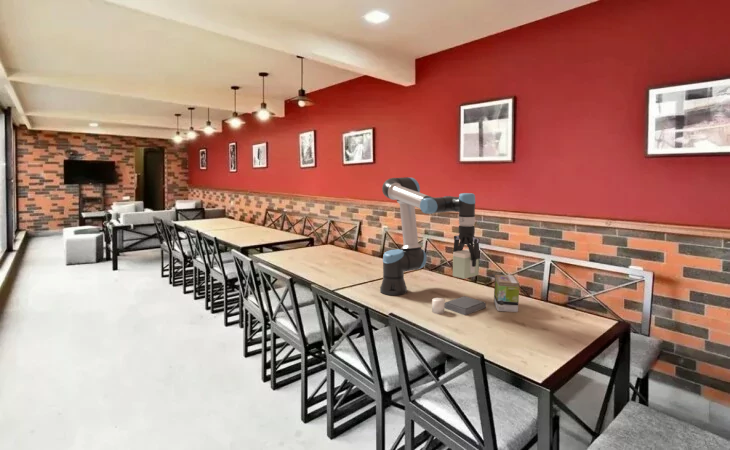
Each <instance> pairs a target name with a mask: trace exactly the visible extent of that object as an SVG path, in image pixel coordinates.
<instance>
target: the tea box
mask: <svg viewBox="0 0 730 450" xmlns="http://www.w3.org/2000/svg"><path fill="white" fill-rule="evenodd" d="M493 288H494V290H493V292H494V293H493V303H494V305H495V309H496V310H497V311H498V312H508V313H509V312H510V313H518V312H519V299H520V296H519V295H520V282H519V280H518V279H517V277H516V276H515V275H510V274H495V275H494V287H493Z"/></svg>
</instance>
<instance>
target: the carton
mask: <svg viewBox="0 0 730 450" xmlns="http://www.w3.org/2000/svg"><path fill="white" fill-rule="evenodd" d="M470 254H471V253H470V252H469V248H465V249H463V250H461V251H455V252H453V251H452V277H454V278H459V279H463V280H465V279H468V278H473V277H476V276H478V275H479V268H480V267H479V265H480V264H479V261H480V259H477V260H476V266H475V273H470V260H471V255H470Z"/></svg>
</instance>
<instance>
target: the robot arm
mask: <svg viewBox="0 0 730 450" xmlns="http://www.w3.org/2000/svg"><path fill="white" fill-rule="evenodd" d="M381 189H382V194H383V195H384V196H385V197H386V198H388V199H390V200H392V201H396V202H397V204H399V211H400V212H399V213H400V222H401V231H402V243H403V245H402V246H401V248H400V249H399V248H398V249H390V250H387V251H385V252H384V253H383V257H382V263H383V264H382V271H383V272H382V273H383V274H382V277H383V278H382V282H381V285H380V289H379V291H380V293H381V294H384V295H387V296H400V295H404V294H406V293H407V292H408V290H407V289H408V287H407V285H406V284H407V283H406V281H405V274H404V273H405V272H410V271H418V270H420V269H422V268H424V266H425V265H426V264H427V253H426V252H425V250H424V249H423V248H422V246H421V245H420V244H419V239H418V237H419V236H418V228H417V227H418V226H417V217H416V208H418V209H420V211H421V212H422V213H423V214H426V215H427V214H429V215H430V214H431V215H432V214H439V213H449V212H451V213H458V235H454V236H453V240H454V241H453V243H454V244H453V250H452V253H453V252H455V251H461V250H464V247H465V246H467V249H469V252H470V253H471V254H470V255H471V260H470V273H475V266H476V260H477V259H479V260H480V258H481V255H480V254H481V253H480V238H476V237H475V235H474V234H475V228H476V227H475V223H476V194H474V193H471V192H463V193H459V194H458V196H451V195H447V196H446V195H445V196H441V197H440V196H439V197H434V196H430V195H428V194H424V193H422V192H420V191H421V188H420V184H419V182H418V180H417V179H415V178H414V177H408V176H407V177H406V176H405V177H404V176H403V177H391V178H388V179H386V180H385V181H384V182H383V184H382V186H381Z"/></svg>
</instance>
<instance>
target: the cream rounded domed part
mask: <svg viewBox="0 0 730 450" xmlns="http://www.w3.org/2000/svg"><path fill="white" fill-rule="evenodd" d="M445 303H446V301H445V298H443V297H434V298H432V299H431V312H432V313H433V314H435V315H436V314H437V315H442V314H445V311H446V308H445Z"/></svg>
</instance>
